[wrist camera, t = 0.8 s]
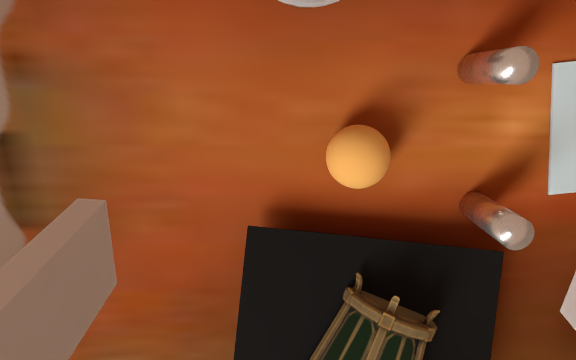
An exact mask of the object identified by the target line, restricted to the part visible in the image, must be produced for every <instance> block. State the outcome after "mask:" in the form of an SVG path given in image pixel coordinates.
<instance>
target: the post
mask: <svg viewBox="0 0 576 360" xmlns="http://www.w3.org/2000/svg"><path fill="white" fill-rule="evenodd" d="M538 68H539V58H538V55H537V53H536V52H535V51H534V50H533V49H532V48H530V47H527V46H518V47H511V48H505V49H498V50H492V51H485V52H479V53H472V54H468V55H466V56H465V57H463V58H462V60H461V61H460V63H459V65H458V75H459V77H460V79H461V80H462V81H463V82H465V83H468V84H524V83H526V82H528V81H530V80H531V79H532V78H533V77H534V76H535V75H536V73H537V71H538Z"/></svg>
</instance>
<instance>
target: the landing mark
mask: <svg viewBox="0 0 576 360" xmlns="http://www.w3.org/2000/svg"><path fill="white" fill-rule="evenodd" d="M573 192H576V61H571V62H562V63H552V91H551V119H550V147H549V175H548V195H552V194H562V193H573Z"/></svg>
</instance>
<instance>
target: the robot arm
mask: <svg viewBox="0 0 576 360" xmlns="http://www.w3.org/2000/svg"><path fill="white" fill-rule="evenodd" d="M116 284H117V280H116V273H115V265H114V257H113V250H112V242H111V234H110V227H109V219H108V212H107V204H106V200H94V199H77V200H76V201H74V202H73V203H72V204H71V205H70V206H69V207H68V208H67V209H66V210H65V211H63V212H62V213H61V214H60V215H59V216H58V217H57V218H56V219H55V220H54V221H52V222H51V223H50V224H49V225H48V226H47V227H46V228H45V229H44V230H42V231H41V232H40V233H39V234H38V235H37V236H36V237H35V238H34V239H33V240H31V241H30V242H29V243H28V244H27V245H26V246H25V247H24V248H23V249H22V250H20V251H19V252H18V253H17V254H16V255H15V256H14V257H13V258H12V259H11V260H10V261H8V262H7V263H6V264H5V265H4V266H3V267H2V268H1V269H0V360H68V359H69V358H70V356H71V355H72V353H73V352H74V350H75V348H76V347H77V345H78V344H79V342H80V341H81V339H82V338H83V336H84V334H85V333H86V331H87V330H88V328H89V327H90V325H91V323H92V322H93V320H94V319H95V317H96V316H97V314H98V312H99V311H100V309H101V308H102V306H103V305H104V303H105V301H106V300H107V298H108V297H109V295H110V294H111V292H112V291H113V289H114V287H115V286H116ZM560 312H561V313H562V315H563V316H564V317H565V318H566V319H567V321H568V322H569V323H570V324H571V326H572V327H573V328H574V329H575V330H576V272H575V275H574V277H573V280H572V282H571V285H570V287H569V290H568V292H567V295H566V297H565V300H564V302H563V305H562V307H561V310H560Z"/></svg>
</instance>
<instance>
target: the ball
mask: <svg viewBox="0 0 576 360" xmlns="http://www.w3.org/2000/svg"><path fill="white" fill-rule="evenodd" d="M390 159H391V154H390V148H389V145H388V143H387V141H386V139H385V138H384V136H383V135H382V134H381V133H380V132H378V131H377V130H376V129H374V128H372V127H369V126H366V125H351V126H348V127H345V128H343V129H341V130H340V131H338V132H337V133H336V134H335V135H334V136H333V138H332V139H331V140H330V142H329V144H328V147H327V151H326V163H327V167H328V169H329V172H330V173H331V175H332V176H333V177H334V178H335V179H336V180H337V181H338V182H339V183H341V184H342V185H344V186H347V187H350V188H357V189H358V188H366V187H369V186H372V185H374V184H375V183H377V182H378V181H379V180H380V179H381V178H382V177H383V176H384V175H385V173H386V172H387V170H388V168H389V164H390Z"/></svg>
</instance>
